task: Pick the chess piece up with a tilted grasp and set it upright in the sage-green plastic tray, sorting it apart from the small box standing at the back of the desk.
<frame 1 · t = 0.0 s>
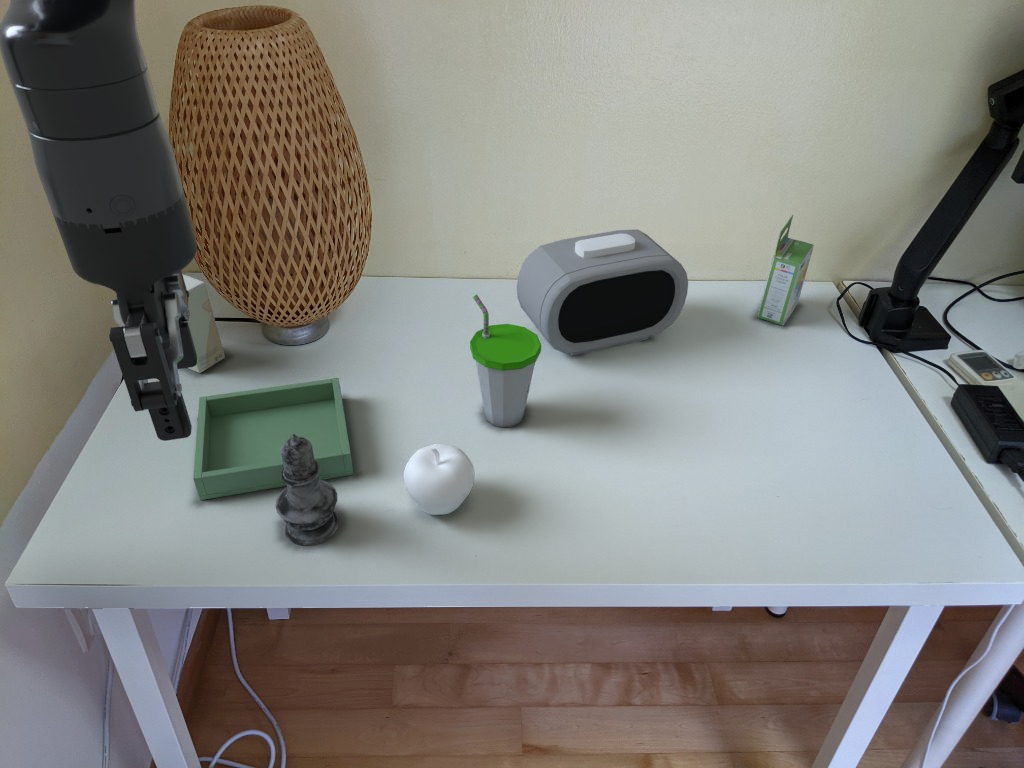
hand: (180, 399, 57), 22 cm above the table, tool pointing down, fingers open, 8 cm apart
chess piece: (311, 526, 77), on the table
ink box: (777, 313, 111), on the table
tray: (276, 445, 86), on the table
alarm clock: (598, 333, 106), on the table
plain white apple: (440, 503, 80), on the table
box: (199, 360, 99), on the table
cup: (504, 416, 91), on the table
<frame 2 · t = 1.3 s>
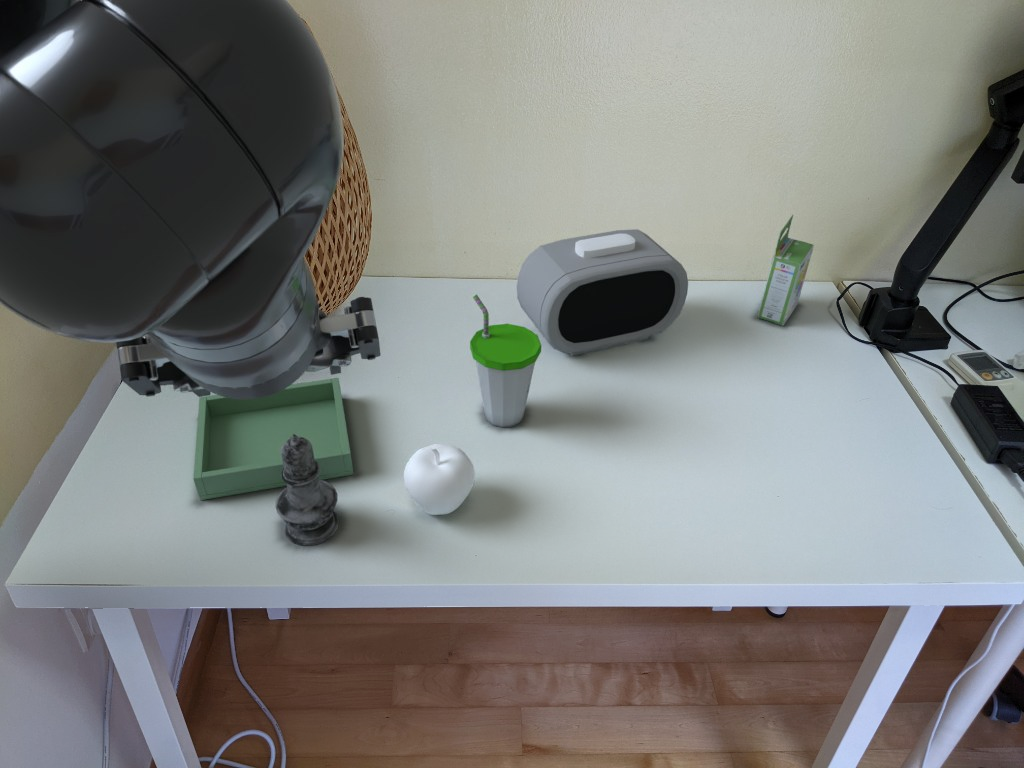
hand: (269, 370, 52), 27 cm above the table, tool tilted 45°, fingers open, 8 cm apart
nothing on the table moved.
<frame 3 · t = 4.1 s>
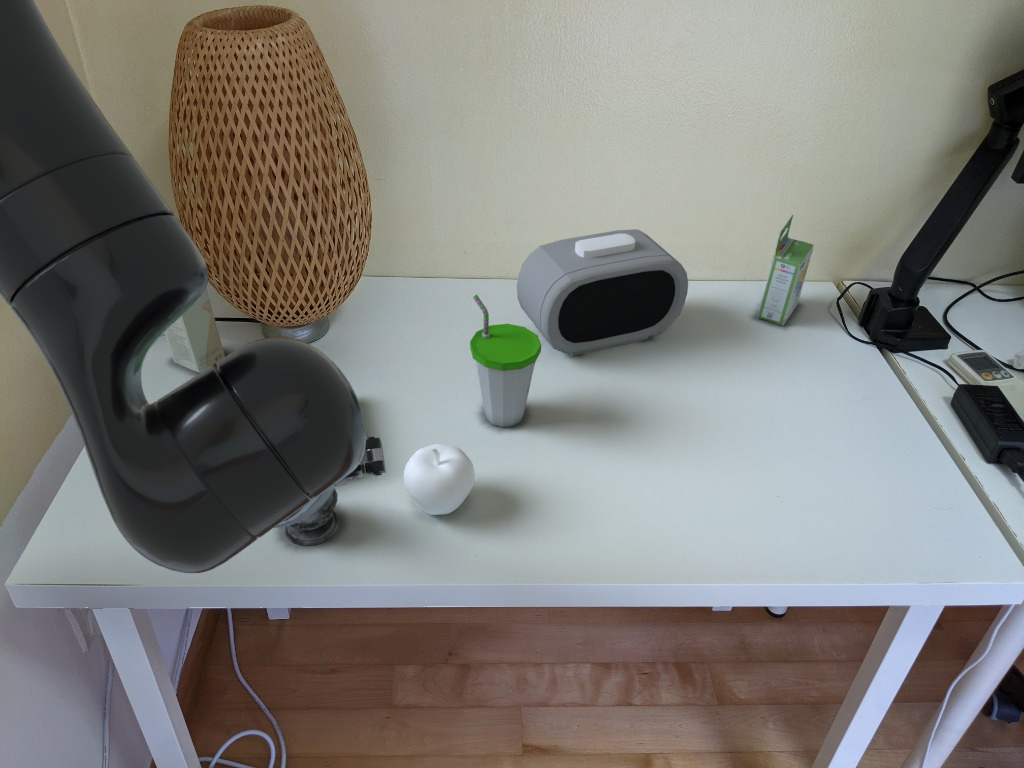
hand: (295, 474, 64), 13 cm above the table, tool tilted 45°, fingers open, 8 cm apart
nothing on the table moved.
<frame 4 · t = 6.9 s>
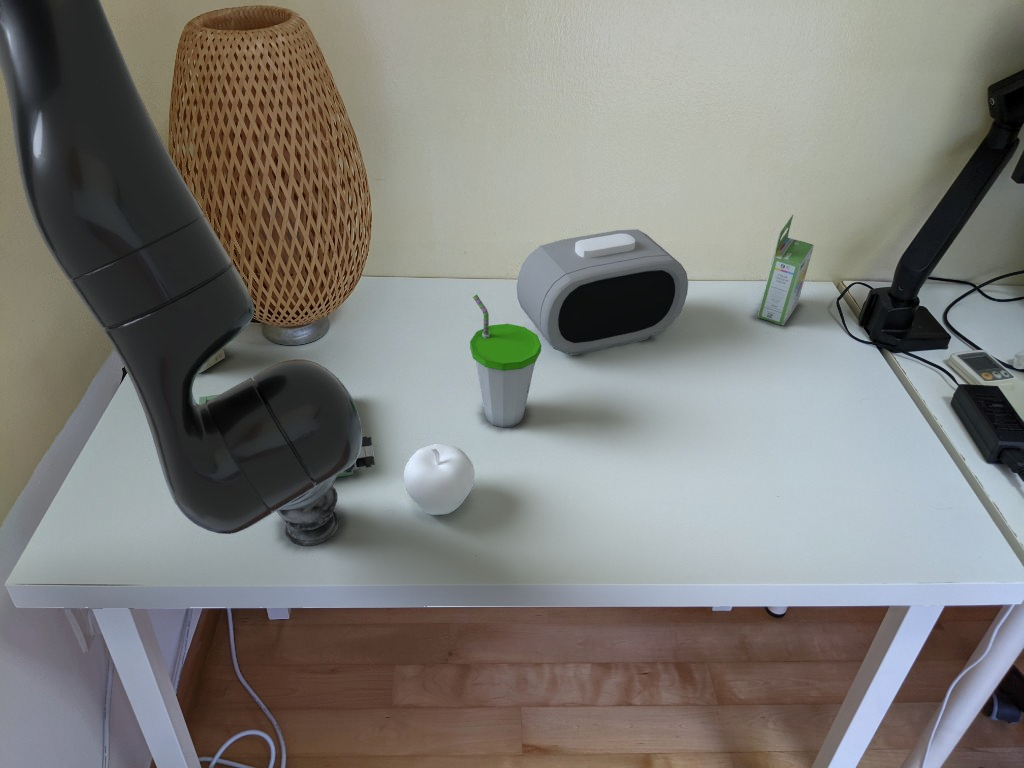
hand: (301, 467, 75), 6 cm above the table, tool tilted 45°, fingers closed on chess piece, 3 cm apart
chess piece: (311, 526, 77), on the table, touching gripper
everything else where it was.
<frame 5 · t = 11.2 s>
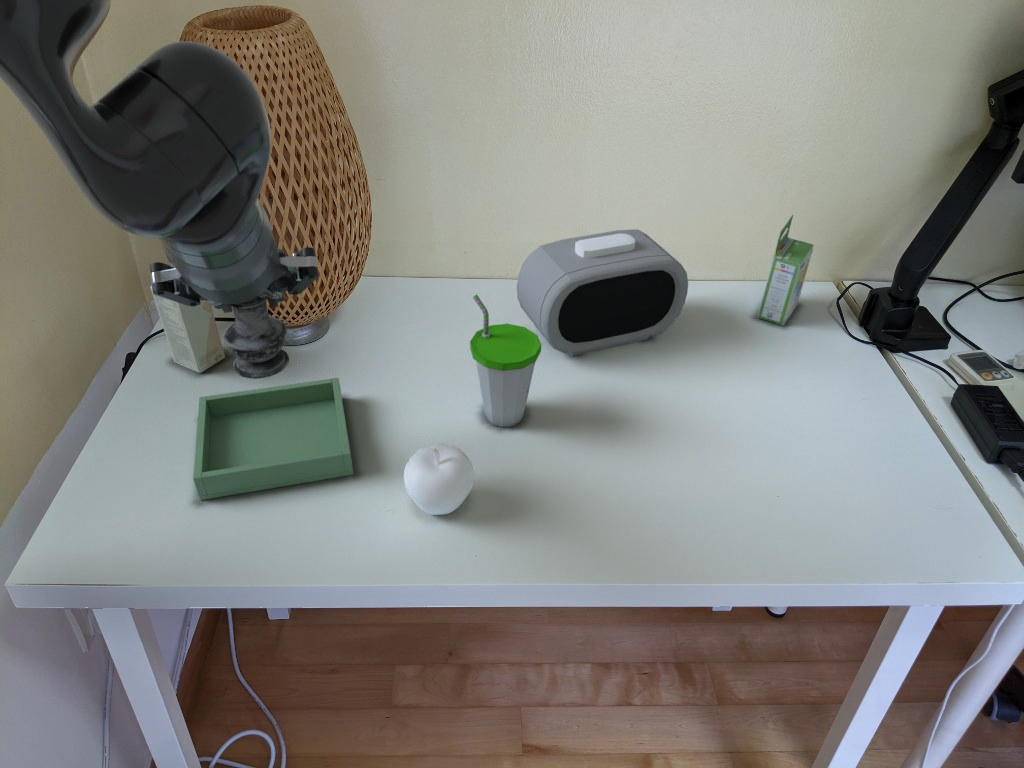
hand: (250, 299, 74), 19 cm above the table, tool tilted 45°, fingers closed on chess piece, 3 cm apart
chess piece: (261, 364, 76), point 13 cm above the table, touching gripper
everything else where it was.
when the fingers open (7 cm above the table, at t = 15.3 s): chess piece stays where it is, resting on tray.
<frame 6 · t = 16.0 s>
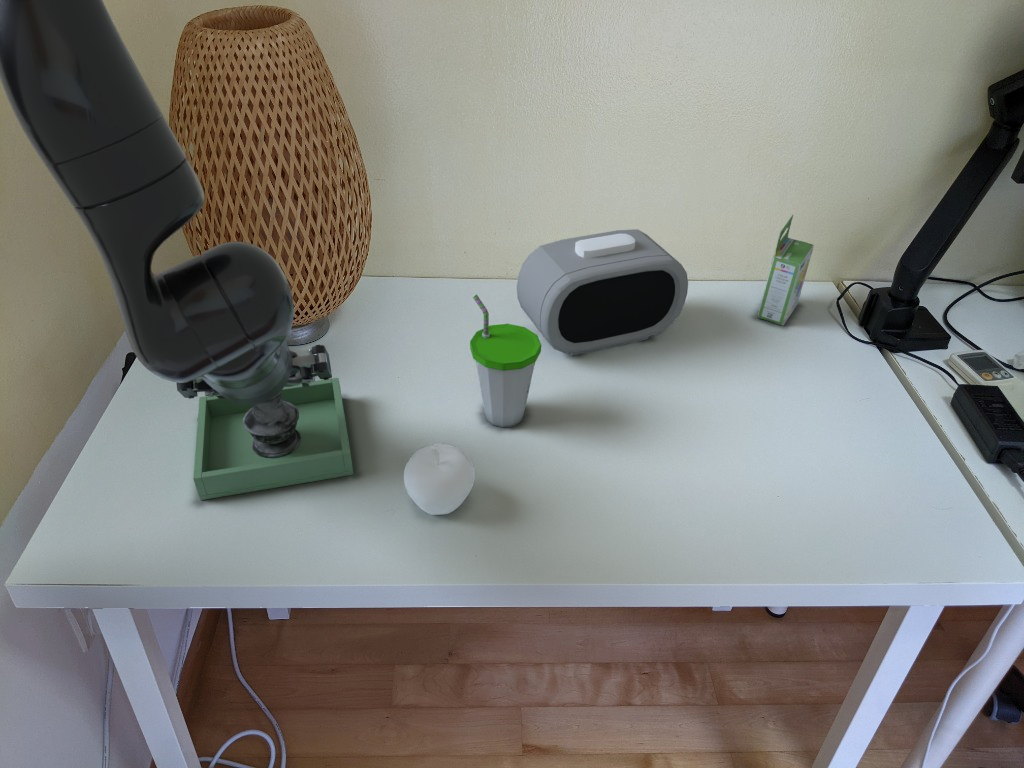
hand: (263, 382, 83), 8 cm above the table, tool tilted 45°, fingers open, 8 cm apart
chess piece: (276, 443, 86), resting on tray
everything else where it was.
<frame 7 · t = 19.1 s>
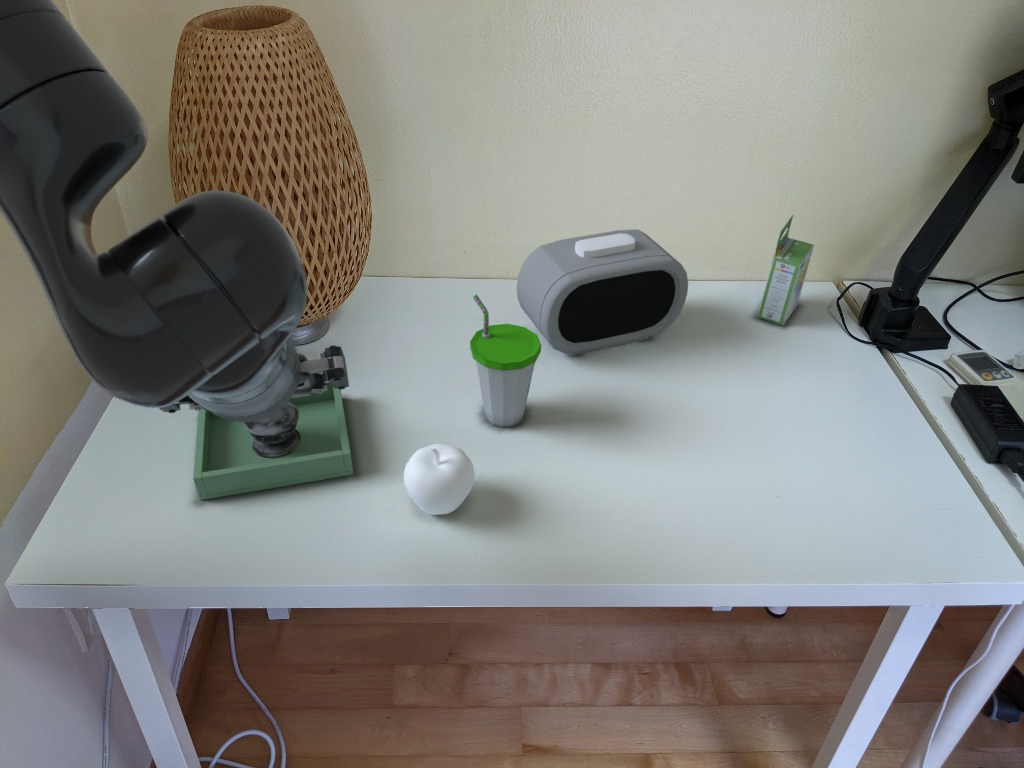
hand: (263, 392, 67), 17 cm above the table, tool tilted 45°, fingers open, 8 cm apart
nothing on the table moved.
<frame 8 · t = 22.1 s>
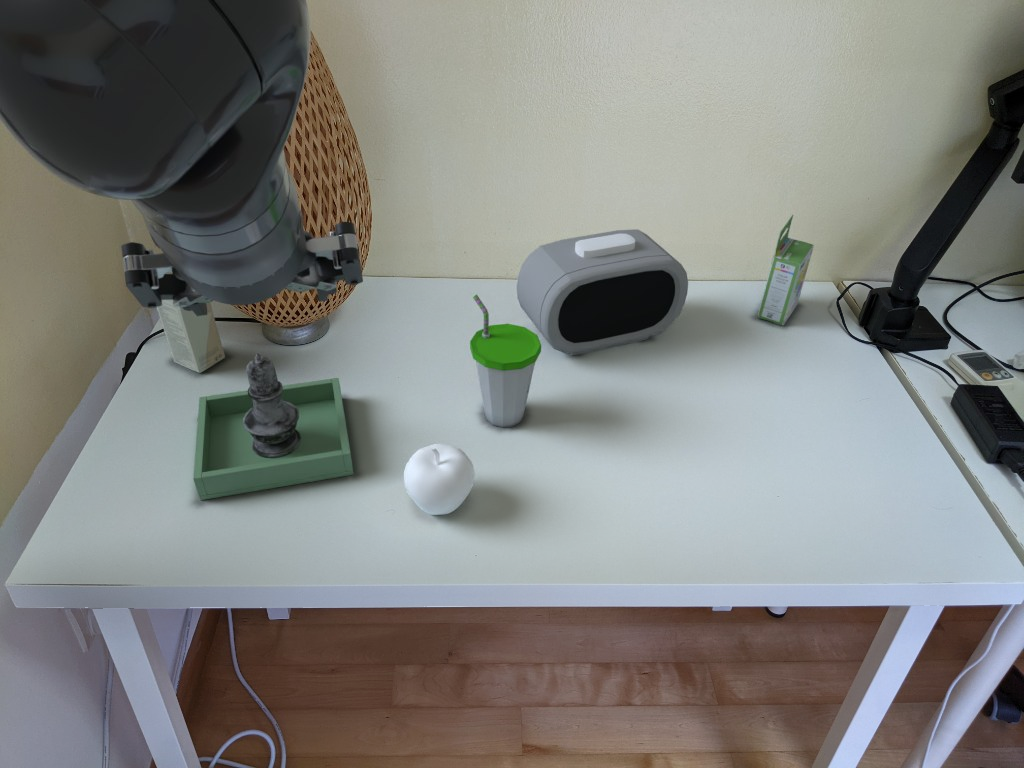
hand: (261, 295, 57), 29 cm above the table, tool tilted 45°, fingers open, 8 cm apart
nothing on the table moved.
at the end: chess piece inside the target area in the tray (0.2 cm from its centre), point 0.4 cm above the tray's base; chess piece tilted 0°; box moved 0.2 cm from its start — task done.
